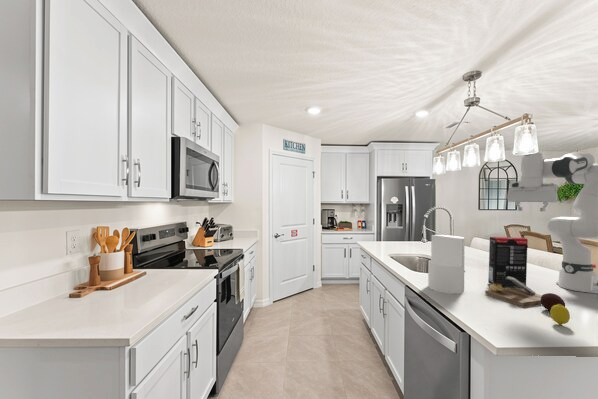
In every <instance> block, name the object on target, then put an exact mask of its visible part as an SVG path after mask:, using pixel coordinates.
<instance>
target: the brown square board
mask: <svg viewBox="0 0 598 399" xmlns="http://www.w3.org/2000/svg"><path fill="white" fill-rule="evenodd" d="M507 288H508V290H505V291H497V292H496V291H492V290H490V289H489V290H487V289H486V290H485V295H487V296H490V297H492V298H495V299H497V300H500V301H502V302H503V301H504V302H506V303H509V304H512V305H515V306H518V307H521V308H526V307H534V306H535V307H536V306H543V305H542V304H541V296H542V295H543V294H538V293H536V292H535V294H532V293H529V292H527V291H525V290H524V289H522V288H520V287H507Z"/></svg>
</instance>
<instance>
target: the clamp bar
mask: <svg viewBox="0 0 598 399" xmlns="http://www.w3.org/2000/svg"><path fill="white" fill-rule="evenodd" d="M507 278H508V279H509V280H511V281H512V282H514V283H515V284H516V285H518V286H519V287H518V288H520V289H522V290H525V291H527V292H529V293H532V294H535V293H536V291H534V290H532V289H531V288H529V287H528V286H527V285H526V286H525V285H524V284H522V283H521V282H519V281H518V280H516V279H515V278H513V277H509V276H508V277H507Z"/></svg>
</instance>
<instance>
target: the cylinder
mask: <svg viewBox="0 0 598 399" xmlns="http://www.w3.org/2000/svg"><path fill="white" fill-rule="evenodd" d="M430 241H431V250H430V252H431V254H430V256H431V259H430V260H428V265H427V266H428V275H427V276H428V279H427V281H428V282H427V284H428V288H429V289H431V290H432V291H435V292H439V293H443V294H450V295H452V294H453V295H455V294H462V293H465V237H463V236H458V235H452V234H451V235H450V234H448V235H447V234H432V235H431V240H430Z"/></svg>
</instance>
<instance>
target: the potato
mask: <svg viewBox="0 0 598 399" xmlns="http://www.w3.org/2000/svg"><path fill="white" fill-rule="evenodd" d="M541 295H542V296H541V304H542V305H541V306H542V307H543V308H544V309H545V310H546V311H549V312H550V311H551V308H552V307H553V306H554V305H558V304H561V305H562V306H564V307H566V302H565V300H564V299H563V298H562V297H561V296H560V295H558V294H555V293H553V292H552V293H550V292H549V293H544V294H541Z"/></svg>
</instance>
